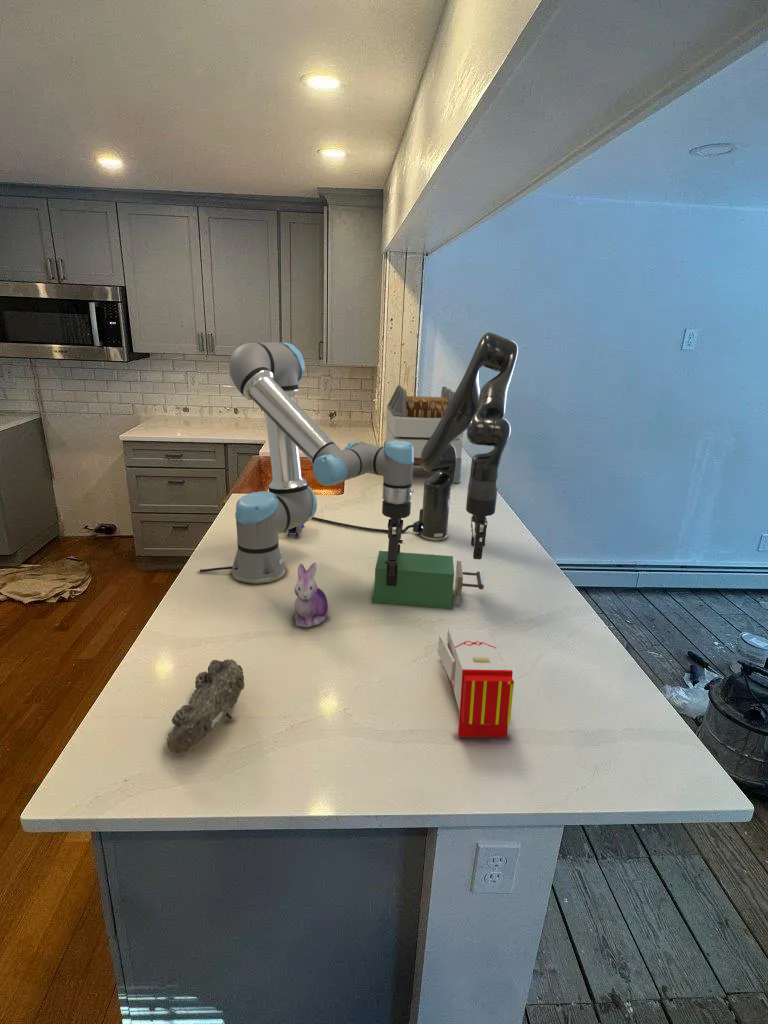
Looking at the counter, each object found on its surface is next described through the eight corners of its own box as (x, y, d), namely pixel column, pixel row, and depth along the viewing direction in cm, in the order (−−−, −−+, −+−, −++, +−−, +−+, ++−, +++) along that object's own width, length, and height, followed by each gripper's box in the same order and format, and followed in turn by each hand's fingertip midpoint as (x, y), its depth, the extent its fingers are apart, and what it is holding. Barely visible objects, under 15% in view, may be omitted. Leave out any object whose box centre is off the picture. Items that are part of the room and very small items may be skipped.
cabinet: (449, 588, 162) (452, 556, 159) (451, 608, 151) (454, 574, 148) (377, 582, 164) (379, 550, 160) (373, 602, 153) (375, 568, 149)
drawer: (479, 588, 161) (482, 562, 158) (482, 606, 151) (485, 579, 148) (390, 581, 163) (392, 555, 160) (387, 599, 153) (389, 571, 150)
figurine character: (302, 543, 191) (306, 522, 205) (301, 523, 188) (306, 503, 202) (282, 542, 191) (288, 522, 205) (281, 522, 188) (287, 503, 201)
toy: (488, 613, 130) (523, 677, 101) (484, 667, 133) (517, 744, 104) (435, 612, 130) (455, 676, 101) (432, 666, 133) (451, 743, 103)
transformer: (382, 463, 289) (386, 382, 275) (445, 464, 293) (451, 384, 279) (390, 482, 257) (394, 392, 243) (460, 483, 261) (468, 394, 247)
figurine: (299, 632, 137) (299, 576, 132) (286, 613, 145) (285, 559, 140) (336, 624, 141) (336, 570, 136) (320, 605, 149) (321, 553, 144)
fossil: (192, 660, 117) (244, 628, 112) (224, 691, 120) (276, 661, 115) (142, 746, 98) (202, 712, 93) (182, 779, 101) (242, 748, 96)
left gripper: (409, 516, 137) (404, 596, 144) (412, 487, 160) (408, 558, 167) (378, 514, 138) (375, 594, 145) (386, 486, 160) (383, 556, 167)
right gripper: (499, 504, 139) (492, 564, 145) (493, 487, 153) (487, 543, 158) (469, 502, 140) (463, 562, 145) (465, 485, 153) (460, 541, 159)
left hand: (392, 575), depth 156 cm, fingers closed on cabinet, 12 cm apart
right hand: (475, 552), depth 152 cm, fingers open, 8 cm apart
